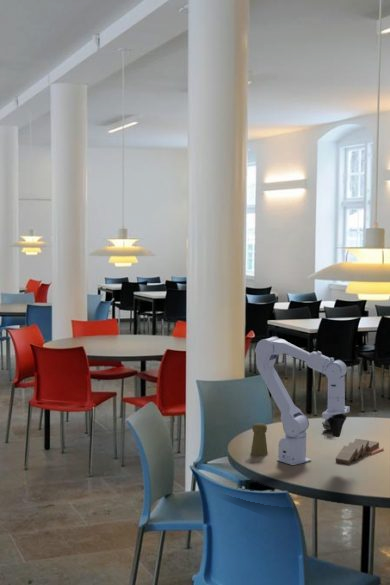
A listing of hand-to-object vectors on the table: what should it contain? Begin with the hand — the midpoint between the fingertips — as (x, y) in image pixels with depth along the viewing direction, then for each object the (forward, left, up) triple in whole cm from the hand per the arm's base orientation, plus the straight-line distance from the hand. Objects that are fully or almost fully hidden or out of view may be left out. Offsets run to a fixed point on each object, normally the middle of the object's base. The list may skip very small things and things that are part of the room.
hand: (336, 436), depth 279 cm
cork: (-10, +28, -11) cm, 31 cm away
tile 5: (+21, +4, -11) cm, 24 cm away
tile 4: (+21, +5, -9) cm, 24 cm away
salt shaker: (+34, +34, -11) cm, 49 cm away
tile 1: (+5, +1, -10) cm, 11 cm away
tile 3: (+15, +4, -10) cm, 18 cm away
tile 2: (+10, +2, -10) cm, 14 cm away
